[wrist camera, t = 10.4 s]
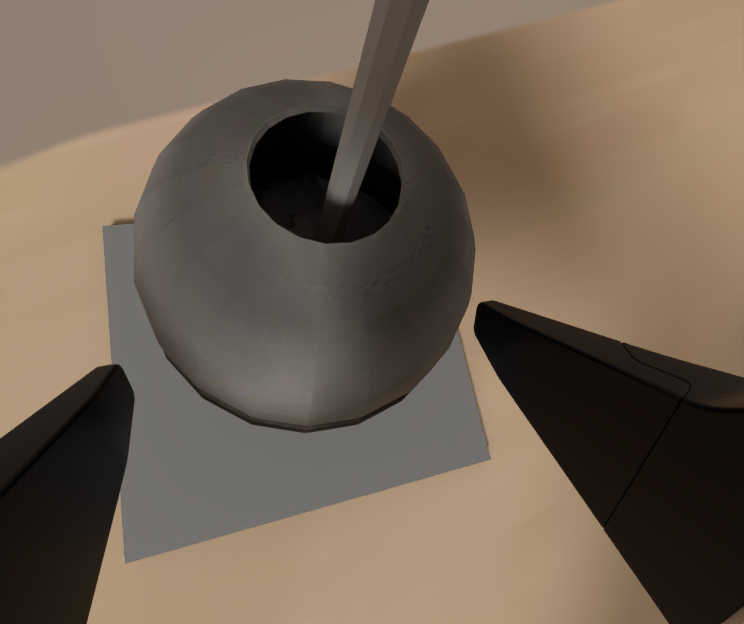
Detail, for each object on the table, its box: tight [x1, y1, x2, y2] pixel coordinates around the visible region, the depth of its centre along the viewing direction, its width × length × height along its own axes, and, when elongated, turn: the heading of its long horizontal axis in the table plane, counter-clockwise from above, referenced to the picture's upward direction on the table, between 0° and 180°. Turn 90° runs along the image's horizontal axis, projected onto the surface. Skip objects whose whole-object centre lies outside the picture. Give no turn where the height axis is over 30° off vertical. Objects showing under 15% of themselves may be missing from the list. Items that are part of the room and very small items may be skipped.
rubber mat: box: [103, 223, 491, 564], centre depth 20 cm, size 16×18×1 cm
